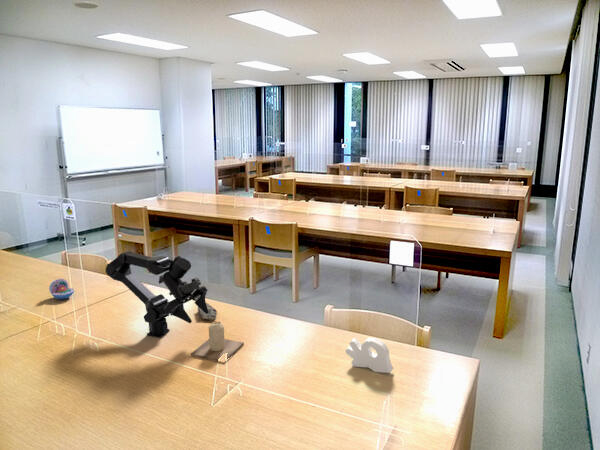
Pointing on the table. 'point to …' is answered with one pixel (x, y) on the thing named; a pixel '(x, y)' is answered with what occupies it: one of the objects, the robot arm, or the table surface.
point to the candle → (216, 336)
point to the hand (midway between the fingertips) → (199, 317)
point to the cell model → (60, 289)
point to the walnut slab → (206, 353)
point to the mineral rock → (210, 315)
